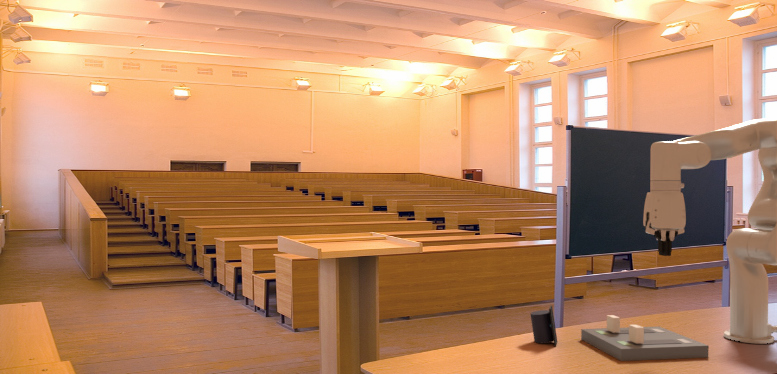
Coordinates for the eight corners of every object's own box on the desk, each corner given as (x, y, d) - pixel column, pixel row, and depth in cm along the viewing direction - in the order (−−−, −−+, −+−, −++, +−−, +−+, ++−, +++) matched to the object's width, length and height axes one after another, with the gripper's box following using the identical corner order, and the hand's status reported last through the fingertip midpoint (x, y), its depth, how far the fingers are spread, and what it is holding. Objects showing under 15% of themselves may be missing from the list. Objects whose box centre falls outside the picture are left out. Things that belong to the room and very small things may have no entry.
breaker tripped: (636, 339, 168) (636, 324, 168) (643, 343, 164) (643, 327, 164) (628, 339, 168) (629, 324, 168) (636, 343, 164) (636, 327, 164)
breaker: (613, 329, 180) (613, 315, 180) (619, 332, 176) (619, 317, 176) (606, 329, 180) (606, 315, 180) (613, 332, 176) (613, 318, 176)
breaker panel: (659, 336, 186) (659, 326, 185) (708, 357, 164) (708, 345, 164) (581, 339, 182) (581, 328, 182) (621, 360, 160) (621, 348, 160)
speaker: (564, 341, 178) (560, 304, 178) (555, 347, 174) (551, 308, 174) (539, 340, 183) (535, 304, 183) (530, 345, 178) (526, 308, 179)
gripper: (682, 187, 177) (681, 253, 177) (632, 187, 175) (631, 254, 175) (699, 187, 170) (698, 256, 170) (647, 187, 168) (646, 257, 168)
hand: (664, 255), depth 173 cm, fingers closed
